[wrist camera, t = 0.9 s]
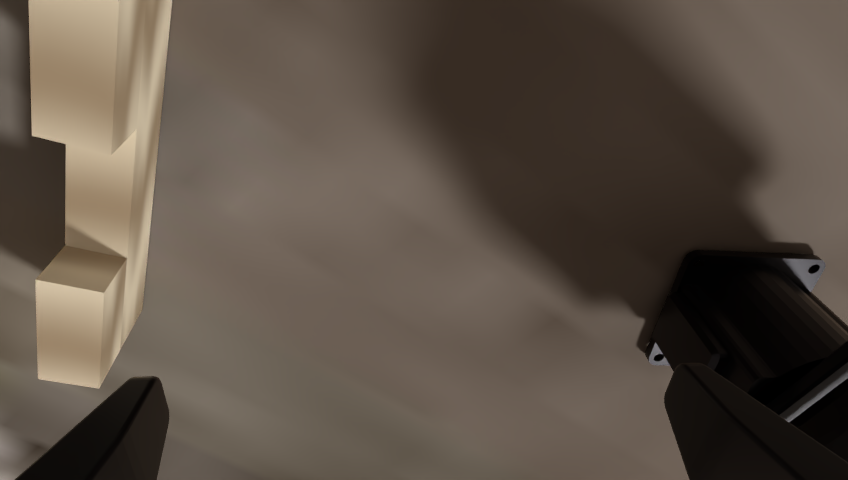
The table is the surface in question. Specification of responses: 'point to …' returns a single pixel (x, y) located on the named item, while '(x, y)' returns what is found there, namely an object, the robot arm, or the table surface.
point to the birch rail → (97, 172)
